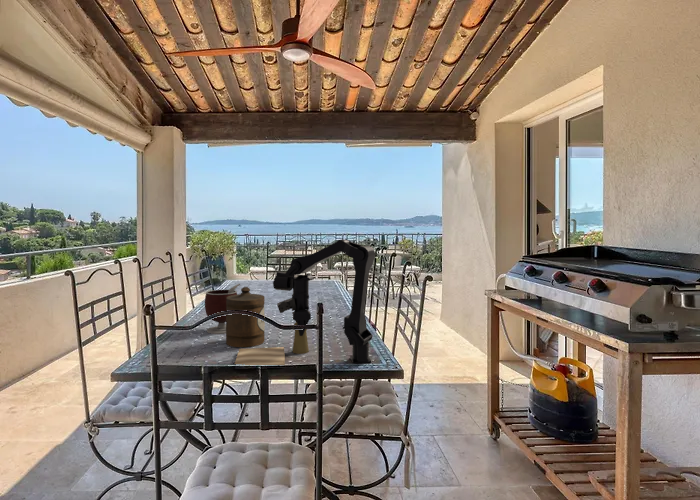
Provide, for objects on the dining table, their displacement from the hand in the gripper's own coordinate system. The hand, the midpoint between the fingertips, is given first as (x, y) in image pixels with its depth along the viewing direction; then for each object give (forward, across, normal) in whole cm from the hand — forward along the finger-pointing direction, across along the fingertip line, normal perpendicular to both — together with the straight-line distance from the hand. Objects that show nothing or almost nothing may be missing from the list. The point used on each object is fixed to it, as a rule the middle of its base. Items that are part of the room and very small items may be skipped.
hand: (300, 333), depth 153 cm
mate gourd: (+7, -35, -32) cm, 48 cm away
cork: (+7, 0, 0) cm, 7 cm away
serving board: (+6, +8, -14) cm, 17 cm away
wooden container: (+7, -15, -21) cm, 27 cm away
